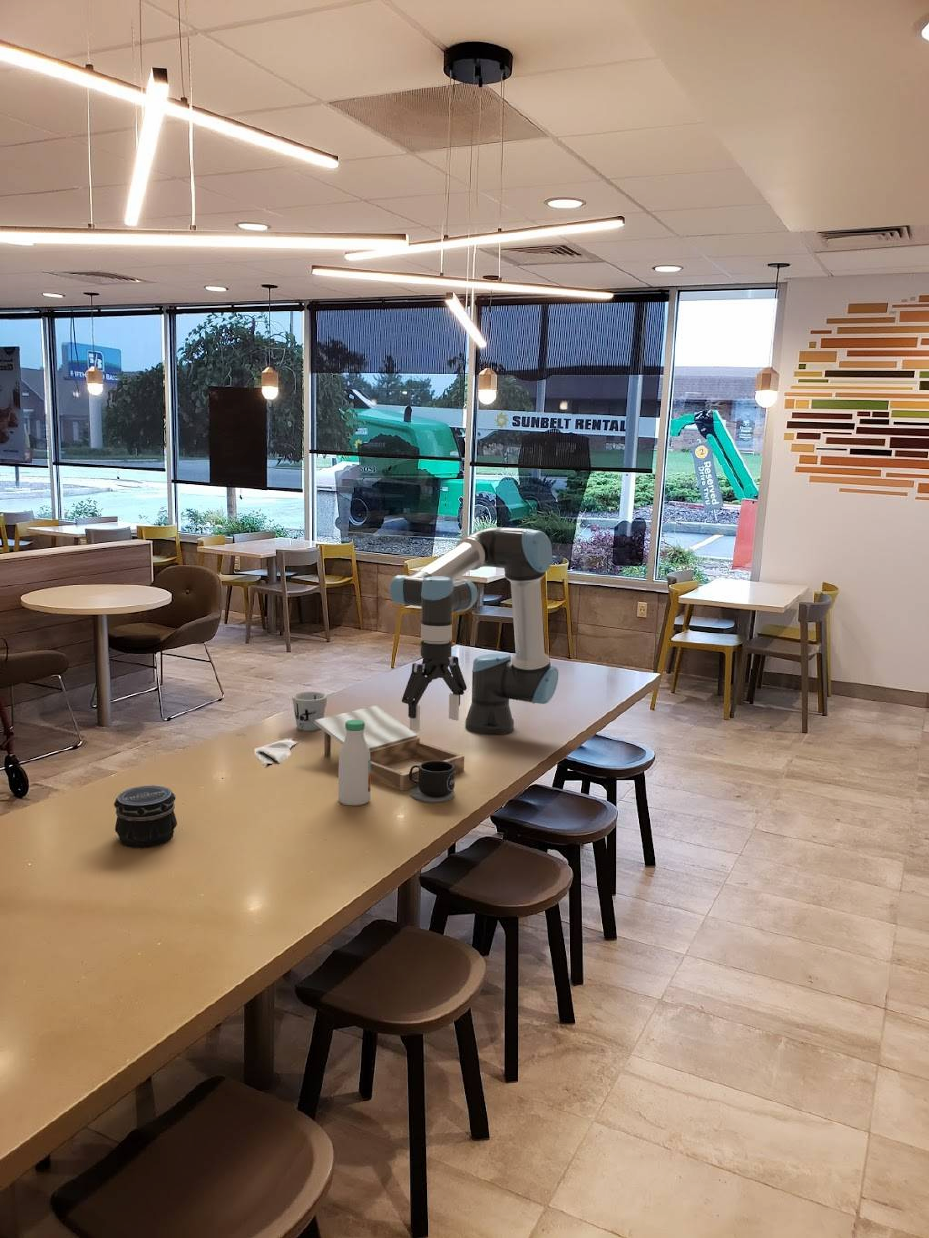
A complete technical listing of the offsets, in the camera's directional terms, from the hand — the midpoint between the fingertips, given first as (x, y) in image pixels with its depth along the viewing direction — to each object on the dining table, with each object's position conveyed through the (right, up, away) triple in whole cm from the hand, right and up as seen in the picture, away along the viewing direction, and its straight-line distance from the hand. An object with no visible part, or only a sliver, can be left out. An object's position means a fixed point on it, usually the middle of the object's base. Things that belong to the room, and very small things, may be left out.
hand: (434, 724), depth 230 cm
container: (-62, -22, -27) cm, 71 cm away
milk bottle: (-20, -18, -2) cm, 27 cm away
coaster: (-1, -18, +3) cm, 18 cm away
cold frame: (-14, -13, +25) cm, 32 cm away
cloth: (-46, -12, +32) cm, 57 cm away
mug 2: (-1, -17, +3) cm, 18 cm away
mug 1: (-39, -7, +57) cm, 70 cm away
